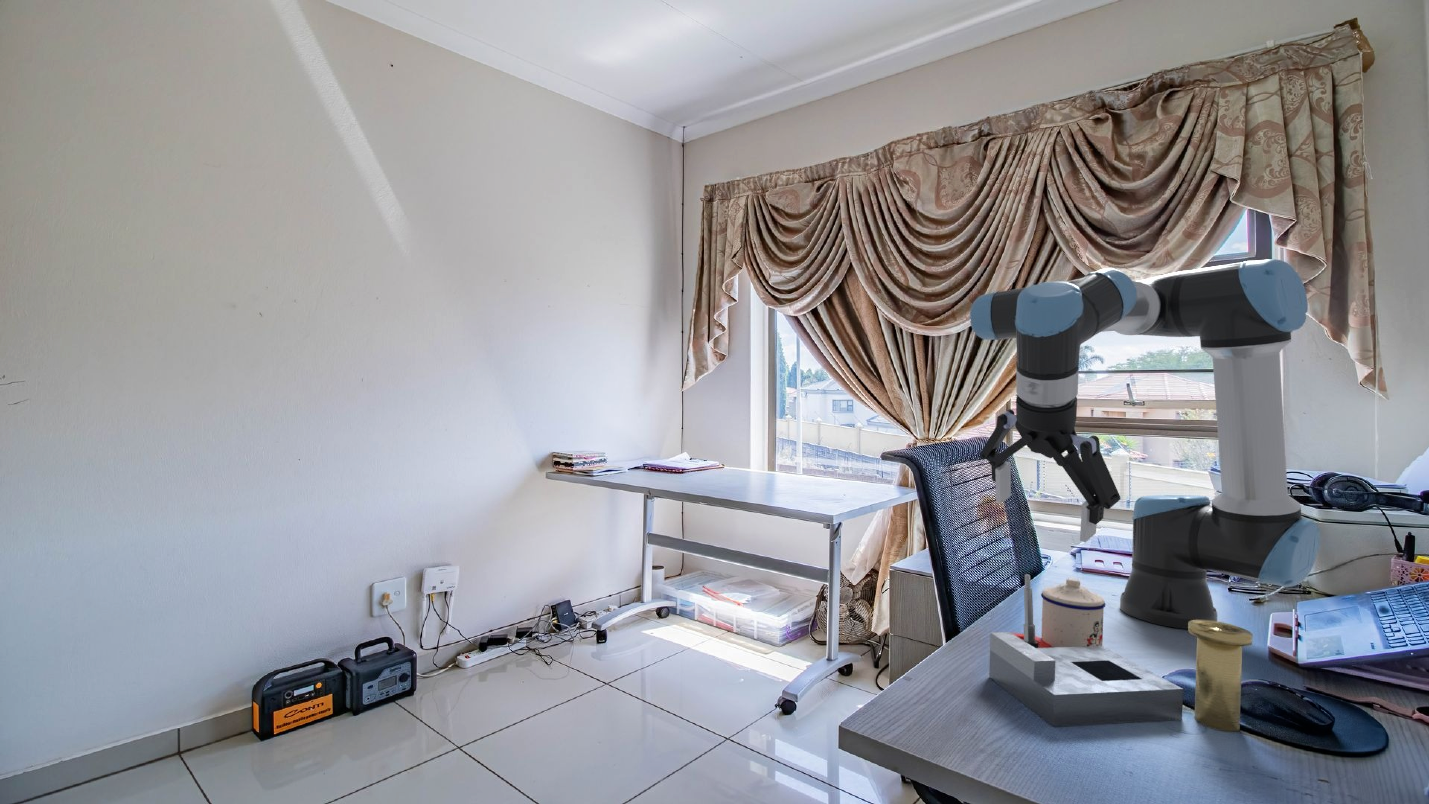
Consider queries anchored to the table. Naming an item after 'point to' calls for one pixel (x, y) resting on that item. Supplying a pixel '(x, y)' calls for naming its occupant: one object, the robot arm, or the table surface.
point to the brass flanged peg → (1218, 673)
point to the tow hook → (1030, 619)
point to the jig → (1081, 684)
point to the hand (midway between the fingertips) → (1043, 517)
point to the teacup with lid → (1072, 616)
